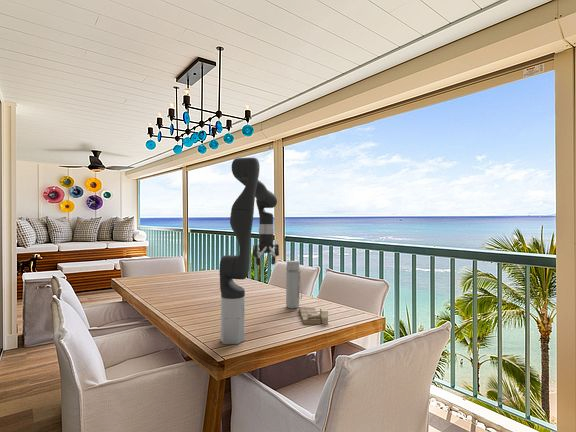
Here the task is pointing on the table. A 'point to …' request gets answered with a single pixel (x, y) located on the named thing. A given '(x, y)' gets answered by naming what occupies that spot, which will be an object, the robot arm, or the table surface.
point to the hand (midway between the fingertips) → (265, 264)
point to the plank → (304, 315)
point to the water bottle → (293, 284)
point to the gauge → (321, 315)
